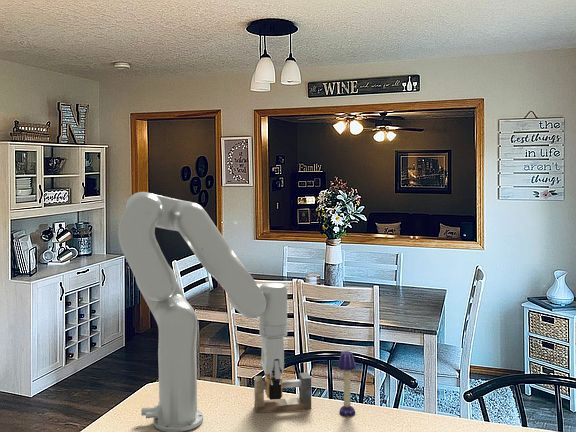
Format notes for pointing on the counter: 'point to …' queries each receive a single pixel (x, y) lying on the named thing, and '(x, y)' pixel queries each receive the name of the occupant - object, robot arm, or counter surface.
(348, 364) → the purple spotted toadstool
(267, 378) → the sleeve
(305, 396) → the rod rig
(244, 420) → the counter surface
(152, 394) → the counter surface
